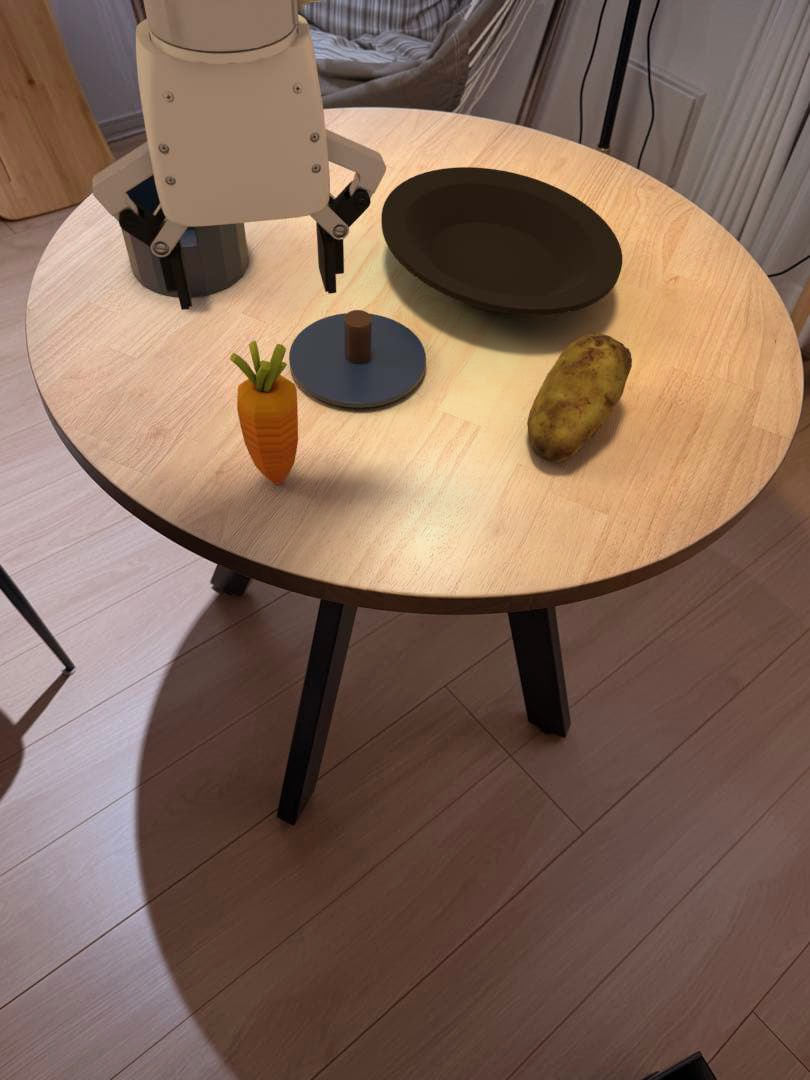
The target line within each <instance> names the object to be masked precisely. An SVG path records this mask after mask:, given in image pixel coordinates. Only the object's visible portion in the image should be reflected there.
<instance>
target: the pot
mask: <svg viewBox="0 0 810 1080" xmlns="http://www.w3.org/2000/svg"><path fill="white" fill-rule="evenodd" d="M126 193H127V195H128V197H129V198H130V199H131V200H132V201H134V202H136V203H137V204H139V205H140V206H142V207H143V208H145V209H146V210H148V211H149V212H151V213H152V214H153V213H154V212H155V210H156V209H157V207H158V206H159V204H160V200H159V197H158V193H157V188H156V184H155V180H154V175H152V176H151V177H149V178H148V179H146V180H145V181H143V182H141V183H140V184H138V185H137V186H135V187H134V188H132V189H130V190H129V191H127V192H126ZM120 230H121V233H122V237H123V242H124V245H125V248H126V252H127V256H128V260H129V263H130V268H131V270H132V272H133V274H134V277H135V278H136V280H137V281H138V282H139V283H140V284H141V285H142V286H143V287H145V288H146V289H149V290H150V291H152V292H155V293H157V294H161V295H163V296H168V297H174V298H175V297H176V298H179V297H178V292H177V291H173V292H167V289H166V285H165V281H164V277H163V273H162V269H161V264H160V260H159V257H158V256H156V255H154V254H153V252H152V251H151V247H149V246H148V245H146V244H145V243H143V242H141V241H140V240H138V239H137V238H135V237H134V236H132V235H130V234H129V233H127V232H126V231H124V230H123V229H122V228H121V227H120ZM180 240H181V245H182V250H183V255H184V259H185V264H186V269H187V274H188V278H189V284H190V293H191V298H197V297H203V296H204V297H205V296H208V295H213V294H215V293H219V292H221V291H223V290H225V289H227V288H230V287H231V286H233V285H235V284H236V283H237V282H238V281H239V280H240V279H241V278H242V277H243V275H244V274H245V272H246V271H247V269H248V265H249V253H248V245H247V244H248V243H247V236H246V229H245V223H235V224H224V225H212V226H197V227H191V226H188V228H187V229H186V231H185V232H184V234H183V235H182V237H181V238H180Z"/></svg>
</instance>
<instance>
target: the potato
mask: <svg viewBox="0 0 810 1080" xmlns="http://www.w3.org/2000/svg"><path fill="white" fill-rule="evenodd" d="M632 368H633V358H632V353H631V351H630V348H628V347H626V346H625V344H624V343H622V342H620V341H619V340H617V339H615V338H613V337H612V336H610V335H607V334H598V333H588V334H585V335H582V336H581V337H579V338H577V339H575V340H574V341H572V342H571V343H570V344H569V345H568V346H567V347H566V348H565V349H564V350H563V351H562V352H561V353H560V355H559V356H558V357H557V360H556V361H555V362H554V364H553V365H552V367H551V369H550V370H549V371H548V372H547V374H546V376H545V379H544V381H543V382H542V384H541V386H540V387H539V390H538V392H537V394H536V396H535V398H534V400H533V403H532V405H531V407H530V410H529V413H528V417H527V424H526V427H527V434H528V439H529V443H530V447H531V449H532V451H533V454H534V455H536V456H537V457H539V458H540V459H542V460H543V461H545V462H548V463H560V462H563V461H565V460H568V459H571V458H572V457H573V456H575V455H576V454H577V453H578V452H580V449H581V447H582V446H583V444H584V443H586V442H587V441H588V440H589V439H591V438H592V437H594V436H595V434H596V433H597V431H598V430H599V429H600V428H602V426H603V423H604V422H605V421H606V419H607V418H608V417H609V415H610V414H611V413H612V412H613V410H614V409H615V407H616V405H617V404H618V403H619V401H620V399H621V398H622V396H623V395H624V391H625V388H626V383H627V380H628V378H629V375H630V373H631V370H632Z"/></svg>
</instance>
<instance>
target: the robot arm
mask: <svg viewBox="0 0 810 1080" xmlns="http://www.w3.org/2000/svg"><path fill="white" fill-rule="evenodd" d="M142 1H143V6H144V11H145V16H146V18H145V19H143V20H142V21H141V22H139V23H138V24H137V26H135V27H136V28H135V56H136V57H135V58H136V71H137V80H138V87H139V97H140V103H141V111H142V117H143V123H144V129H145V134H146V141H145V142H143V143H142V144H141V145H139V146H137V147H136V148H135V149H132V150H131V151H129V152H128V153H127V154H125V155H124V156H122V157H120V158H118V160H116V161H114V162H113V163H111V164H110V165H108V166H107V167H105V168H103V169H102V170H100V171H99V172H97V173H96V174H95V175H93V177H92V180H91V181H92V184H91V186H92V189H91V190H92V195H93V197H94V198H95V199H96V200H97V201H98V203H100V204H101V205H102V207H103V208H104V209H105V210H106V211H107V212H108V213H109V214H110V216H111V217H113V218H114V219H115V220H116V221H117V222H118V224H119V225H118V226H119V227H120V229H121V228H122V229H123V230H124V231H126V232H127V233H129V234H130V235H132V236H134V237H135V238H137V239H138V240H140V241H141V242H143V243H145V244H146V245H148V246H149V247H151V251H152V252H153V254H154V255H156V256H158V257H159V260H160V264H161V269H162V273H163V277H164V281H165V285H166V289H167V292H173V291H177V292H178V297H177V298H178V300H179V305H180V309H181V311H184V310H190V308H192V307H193V302H192V297H191V293H190V284H189V278H188V274H187V269H186V264H185V259H184V255H183V250H182V245H181V240H180V238H181V237H182V235H183V234H184V232H185V231H186V229H187V228H188V226H191V227H197V226H212V225H224V224H235V223H244V224H246V223H256V222H266V221H276V220H286V219H297V218H302V217H303V218H304V217H309V216H310V217H311V218H312V219H313V220H314V222H315V226H316V228H315V229H316V244H317V261H318V262H317V263H318V270H319V274H320V277H321V281H322V285H323V288H324V291H325V293H328V294H329V295H330V294H336V293H337V275H342V274H345V252H344V251H345V250H344V248H345V247H344V246H345V245H344V239H346V238H347V237H348V236H349V234H350V227H351V226H352V225H354V223H355V222H356V221H357V220H358V219H359V218H360V217H361V216H362V215H363V214H364V213H365V212H366V211H367V210H368V209H369V208H370V205H371V202H372V201H371V199H372V196H373V195H374V194H376V192H377V189H378V187H379V186H380V183H381V181H383V178H384V176H385V174H386V173H387V172H386V171H387V166H386V163H385V160H384V159H383V156H382V154H381V153H380V152H378V151H376V150H375V149H372V148H370V147H368V146H365V145H363V144H360V143H358V142H356V141H353V140H352V139H350V138H347V137H345V136H343V135H341V134H338V133H336V132H334V131H332V130H329V129H327V128H326V120H325V113H324V112H325V111H324V103H323V97H322V92H321V91H322V90H321V87H320V80H319V73H318V66H317V61H316V53H315V48H314V43H313V40H312V35H311V31H310V27H309V23H308V21H307V19H306V18H305V17H304V16H303V15H300V14H299V13H303V6H310V3H316V2H317V3H318V2H319V3H320V2H323V1H324V0H142ZM329 162H330V163H332V164H335V165H337V166H340V167H341V168H345V169H347V170H349V171H352V172H354V173H355V174H354V175H353V179H352V181H350V182H349V183H348V184H347V185H346V186H345V187H344V188H343V190H341V191H340V192H339V194H338V195H337V196H336V197H335V196H334V194H332V193H331V177H330V163H329ZM152 175H154V180H155V184H156V188H157V193H158V197H159V200H160V204H159V206H158V207H157V209H156V210H155V212H154V213H153V214H152V213H151V212H149V211H148V210H146V209H145V208H143V207H142V206H140V205H139V204H137V203H136V202H134V201H132V200H131V199H130V198H129V197H128V195H127V193H126V192H127V191H129V190H130V189H132V188H134V187H135V186H137V185H138V184H140V183H141V182H143V181H145V180H146V179H148V178H149V177H151V176H152ZM122 229H121V230H122Z"/></svg>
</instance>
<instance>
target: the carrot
mask: <svg viewBox="0 0 810 1080" xmlns="http://www.w3.org/2000/svg"><path fill="white" fill-rule="evenodd" d="M248 348H249V352H250V356H251V360H252V361H251V362H252V365H253V369H254V371H255V372H254V371H253V369H252V367H251V366H250V365H249V364H248V362H247V361H246V360H245V359H244V358H242V356H240V355H239V354H237V353H235V352H233V353H231V355H230V357H229V360H230V361H231V362H232V363H233V364H234V365H236V366H237V367H238V369H240V371H241V372H242V373H243V374H244V375H245V376H246V377H247V379H245V380H244V381H243V382H241V383H239V384H238V385H237V395H236V396H237V397H236V411H237V416H238V421H239V425H240V429H241V430H240V431H241V433H242V437H243V438H242V439H243V443H244V445H245V447H246V449H247V452H248V454H249V456H250V459H251V460H252V462H253V465H254V466H255V467H256V469H257V470H258V471H259V472H260V474H261V475H262V476H264V477H265V479H267V480H268V481H269V482H270V483H272V484H273V485H280V484H282V483H283V482H284V481H285V480H286V478H287V477H288V476H289V474H290V473H291V471H292V469H293V467H294V465H295V461H296V457H297V451H298V445H299V415H298V414H299V413H298V409H299V408H298V390H297V386H296V384H295V382H293V381H291V380H290V379H288V378H287V377H284V376H283V375H281V374H282V373H283V371H284V370H285V369H286V367H287V366H288V363H287V362H285V361H283V360H284V358H285V355H286V351H287V348H286V347H285V346H284V345H283V344H281V343H277V344H276V345H275V347H274V350H273V352H272V355H271V358H270V361H267V360H261V358H260V351H259V347H258V343H257V341H256V340H252V341H250V342H249V344H248Z"/></svg>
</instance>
